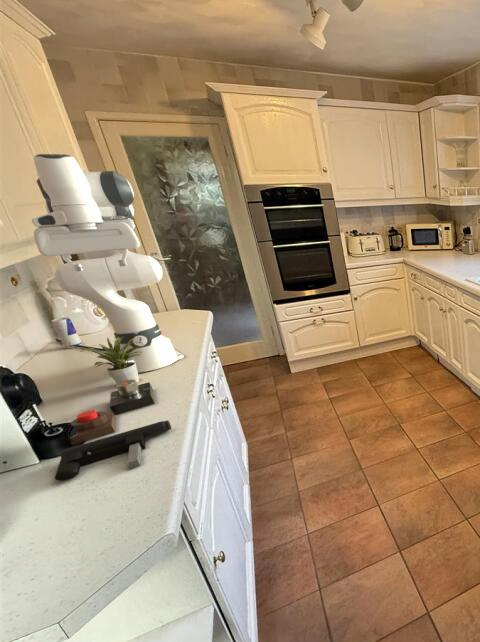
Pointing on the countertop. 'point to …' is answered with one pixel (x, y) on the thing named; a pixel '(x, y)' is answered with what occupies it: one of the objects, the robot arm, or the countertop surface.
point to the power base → (94, 427)
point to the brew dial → (127, 388)
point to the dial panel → (132, 400)
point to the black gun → (108, 449)
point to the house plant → (119, 361)
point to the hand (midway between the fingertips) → (102, 268)
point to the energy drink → (66, 332)
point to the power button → (87, 416)
